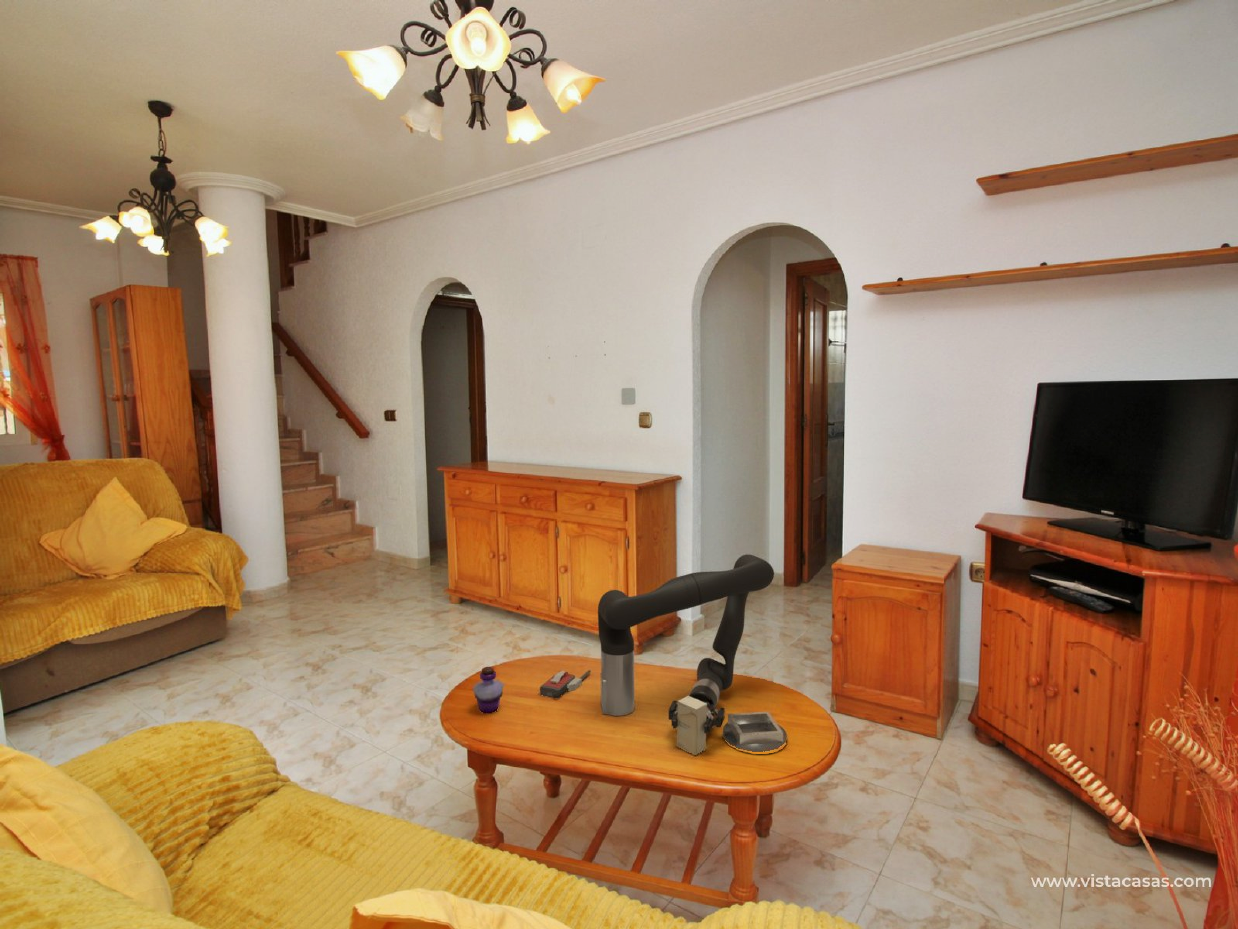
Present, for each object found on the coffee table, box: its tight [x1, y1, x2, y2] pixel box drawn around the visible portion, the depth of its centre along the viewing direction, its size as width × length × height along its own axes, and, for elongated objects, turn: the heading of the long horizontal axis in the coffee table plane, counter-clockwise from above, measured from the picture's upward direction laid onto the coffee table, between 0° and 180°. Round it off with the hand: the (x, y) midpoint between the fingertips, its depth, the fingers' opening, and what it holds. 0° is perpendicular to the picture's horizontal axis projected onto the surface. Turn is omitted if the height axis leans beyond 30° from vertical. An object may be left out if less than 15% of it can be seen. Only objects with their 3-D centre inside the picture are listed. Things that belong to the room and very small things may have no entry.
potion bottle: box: [472, 666, 505, 714], centre depth 184 cm, size 9×9×12 cm
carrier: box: [722, 711, 788, 752], centre depth 168 cm, size 16×16×4 cm
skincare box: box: [676, 695, 707, 756], centre depth 163 cm, size 6×4×12 cm
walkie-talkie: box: [539, 669, 592, 699], centre depth 200 cm, size 9×4×20 cm
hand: (690, 727), depth 161 cm, fingers closed on skincare box, 7 cm apart
